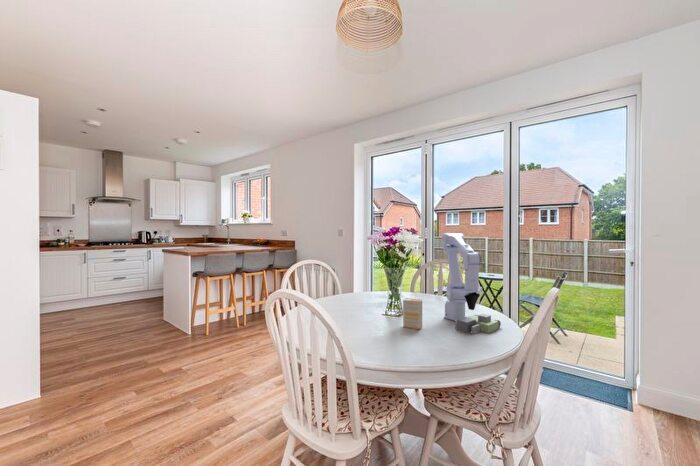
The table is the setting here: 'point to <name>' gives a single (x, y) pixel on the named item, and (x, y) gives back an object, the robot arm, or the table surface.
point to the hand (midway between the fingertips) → (471, 309)
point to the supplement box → (412, 313)
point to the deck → (483, 324)
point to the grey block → (465, 324)
